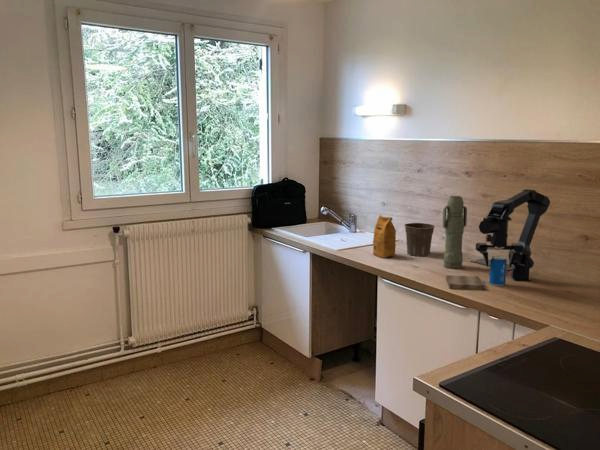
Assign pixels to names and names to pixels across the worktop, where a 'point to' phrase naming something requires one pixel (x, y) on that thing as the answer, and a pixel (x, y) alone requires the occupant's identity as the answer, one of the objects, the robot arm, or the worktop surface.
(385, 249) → the coffee package
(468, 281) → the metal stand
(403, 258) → the worktop surface
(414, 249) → the plant pot
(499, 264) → the beverage can
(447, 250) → the thermos
